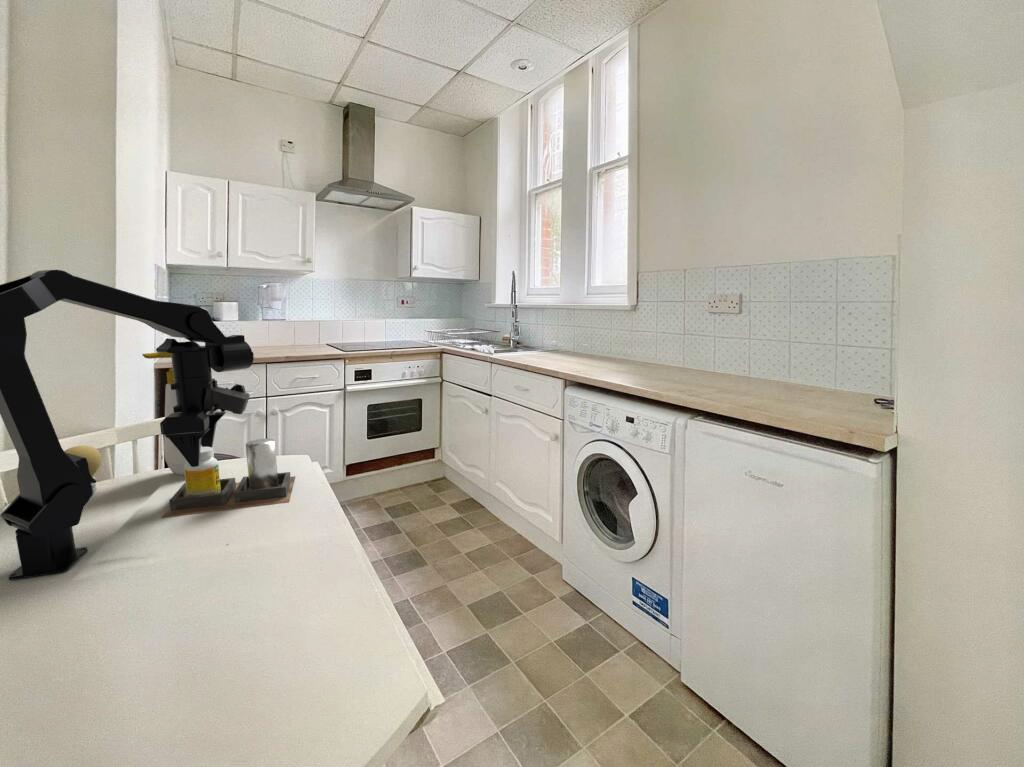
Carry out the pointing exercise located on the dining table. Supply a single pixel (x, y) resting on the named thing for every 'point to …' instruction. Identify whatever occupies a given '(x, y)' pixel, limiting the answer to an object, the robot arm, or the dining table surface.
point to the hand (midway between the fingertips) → (202, 458)
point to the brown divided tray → (231, 497)
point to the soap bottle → (170, 450)
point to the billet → (262, 463)
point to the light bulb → (88, 459)
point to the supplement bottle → (203, 475)
